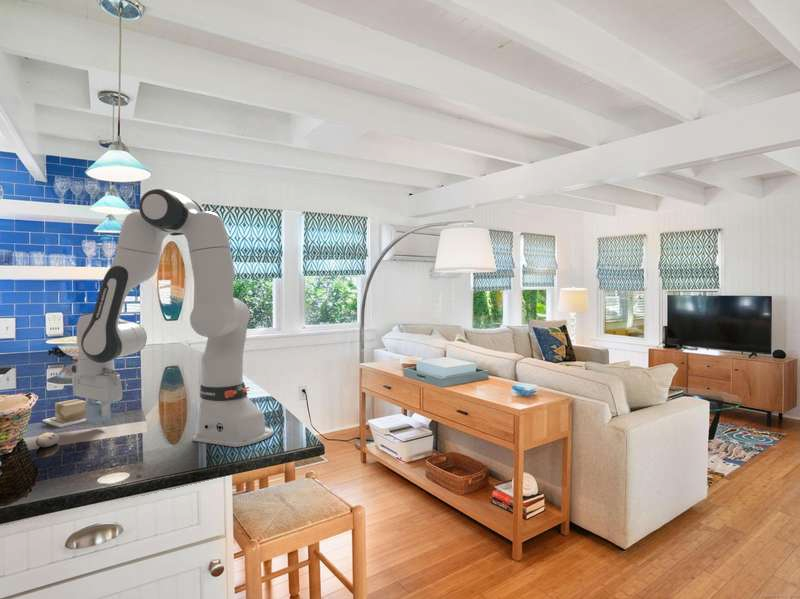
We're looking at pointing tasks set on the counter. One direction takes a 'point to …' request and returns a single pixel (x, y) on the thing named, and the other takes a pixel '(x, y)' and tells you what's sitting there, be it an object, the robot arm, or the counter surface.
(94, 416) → the blue cube
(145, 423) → the counter surface
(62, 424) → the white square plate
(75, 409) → the oak block
